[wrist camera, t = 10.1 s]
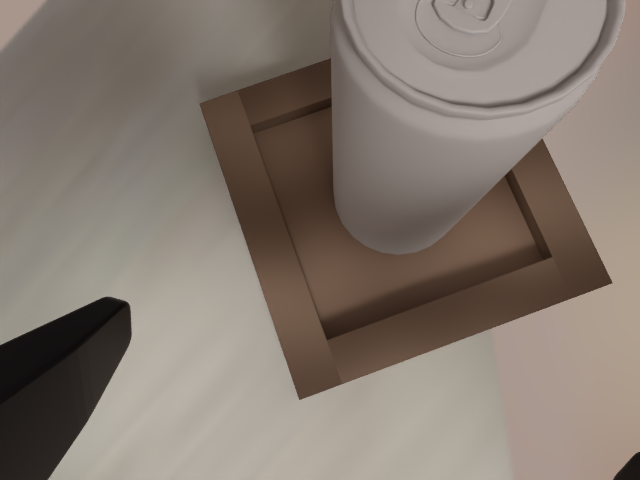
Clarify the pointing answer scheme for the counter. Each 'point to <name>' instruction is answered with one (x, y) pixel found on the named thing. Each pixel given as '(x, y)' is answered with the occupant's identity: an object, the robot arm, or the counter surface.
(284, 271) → the walnut tray
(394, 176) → the beverage can
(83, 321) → the robot arm
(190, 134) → the counter surface
